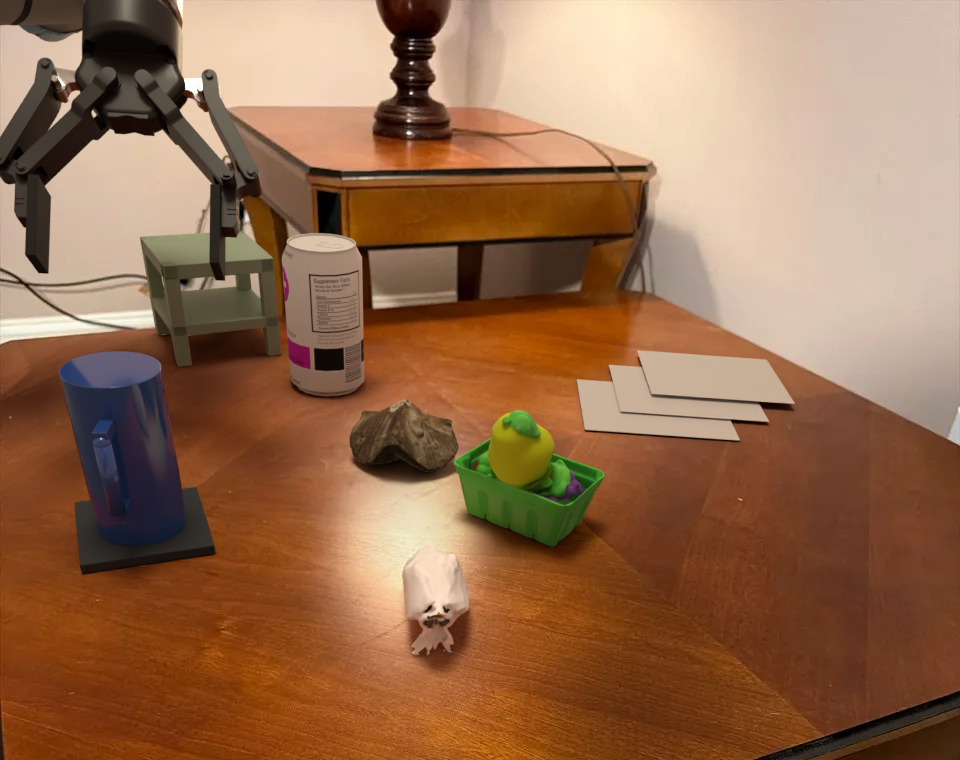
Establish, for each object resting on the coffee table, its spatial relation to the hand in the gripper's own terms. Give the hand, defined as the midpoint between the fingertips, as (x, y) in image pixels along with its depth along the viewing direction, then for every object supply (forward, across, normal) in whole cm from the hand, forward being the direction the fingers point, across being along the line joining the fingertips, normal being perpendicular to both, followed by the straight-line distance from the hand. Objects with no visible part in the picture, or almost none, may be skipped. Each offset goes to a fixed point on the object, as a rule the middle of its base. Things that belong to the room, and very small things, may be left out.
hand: (128, 268), depth 68 cm
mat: (+20, 0, -6) cm, 21 cm away
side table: (-11, 0, -36) cm, 38 cm away
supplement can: (-2, -14, -28) cm, 32 cm away
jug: (+20, 0, -4) cm, 20 cm away
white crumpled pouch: (+28, -23, +2) cm, 36 cm away
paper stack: (-2, -55, -27) cm, 62 cm away
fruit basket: (+18, -32, -7) cm, 38 cm away
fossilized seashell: (+10, -22, -15) cm, 29 cm away
